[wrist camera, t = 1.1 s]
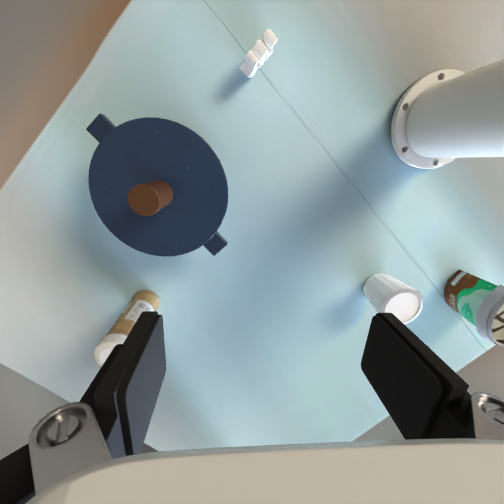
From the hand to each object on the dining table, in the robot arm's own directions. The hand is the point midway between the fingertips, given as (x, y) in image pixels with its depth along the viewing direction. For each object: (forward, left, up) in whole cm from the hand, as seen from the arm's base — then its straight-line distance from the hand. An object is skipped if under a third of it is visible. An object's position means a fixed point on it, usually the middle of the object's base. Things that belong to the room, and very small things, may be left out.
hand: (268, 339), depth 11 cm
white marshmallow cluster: (-14, -13, -30) cm, 36 cm away
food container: (-19, +39, -30) cm, 53 cm away
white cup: (-9, +27, -30) cm, 41 cm away
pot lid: (+5, -9, -22) cm, 24 cm away
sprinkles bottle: (+23, +1, -30) cm, 38 cm away
